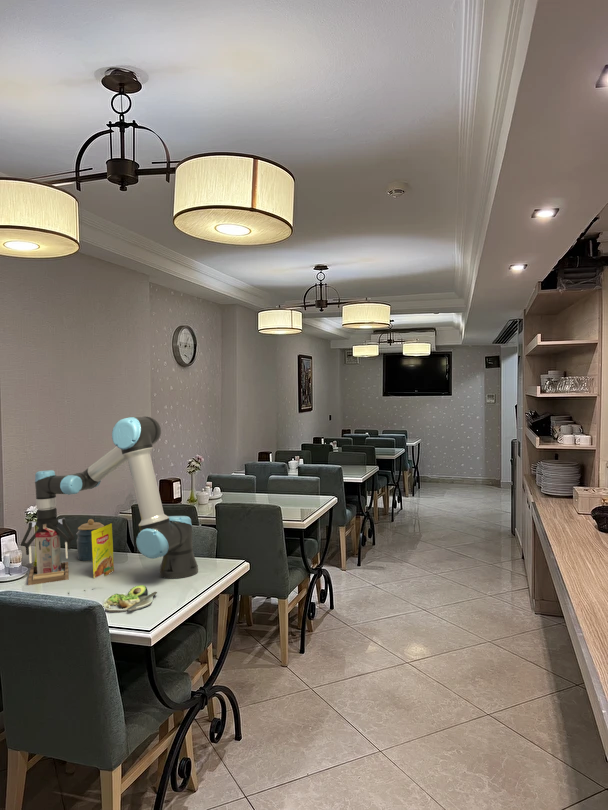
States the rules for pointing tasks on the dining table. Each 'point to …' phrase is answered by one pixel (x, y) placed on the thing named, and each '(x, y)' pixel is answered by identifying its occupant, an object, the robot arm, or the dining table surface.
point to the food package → (102, 551)
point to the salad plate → (130, 599)
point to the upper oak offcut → (48, 575)
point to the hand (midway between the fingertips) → (49, 560)
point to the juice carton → (48, 551)
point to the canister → (86, 540)
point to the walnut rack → (49, 579)
